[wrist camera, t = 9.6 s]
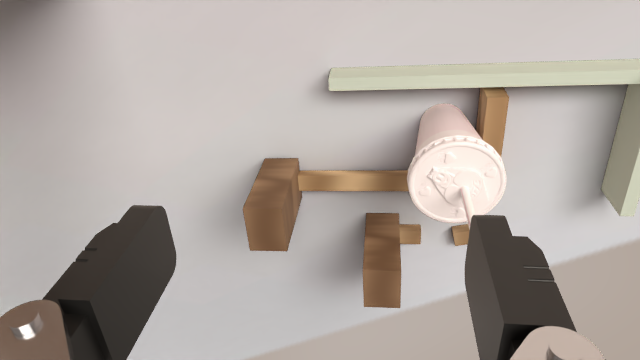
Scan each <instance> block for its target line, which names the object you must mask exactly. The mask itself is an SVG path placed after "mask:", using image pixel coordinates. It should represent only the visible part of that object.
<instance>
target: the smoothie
mask: <svg viewBox="0 0 640 360" xmlns="http://www.w3.org/2000/svg"><path fill="white" fill-rule="evenodd" d="M407 183H408V189H409V193H410V196H411V199H412V201H413V203H414V204H415V206H416V207H417V208H418V209H419V210H420V211H421V212H422V213H423V214H425V215H426V216H428V217H430V218H432V219H435V220H437V221H441V222H447V223H462V222H467V221H468V225H469V229H470V223H471V218H472V216H473V215H485V214H486V213H488V212H489V211H490V210H492V209H493V208H494V207H495V206H496V205H497V203H498V202H499V201H500V199H501V197H502V196H503V193H504V191H505V187H506V172H505V169H504V164H503V162H502V159H501V157H500V155H499V154H498V153H497V151H496V150H495V149H494V148H493V147H492V146H491V145H489V144H488V143H486V142H485V141H483V140H482V138H481V137H480V136H479V134H478V133H477V132H476V130H475V129H474V127H473V126H472V125H471V123H470V122H469V121H468V119H467V118H466V116H465V115H464V114H463V112H462V111H461V110H460V109H459V108H458V107H456V106H454V105H451V104H445V103H443V104H437V105H434V106H432V107H430V108H429V109H428V110H427V111H426V112H425V113H424V114H423V116H422V118H421V121H420V126H419V133H418V139H417V145H416V152H415V157H414V158H413V160H412V162H411V164H410V166H409V168H408V175H407Z"/></svg>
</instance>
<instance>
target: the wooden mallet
mask: <svg viewBox="0 0 640 360" xmlns="http://www.w3.org/2000/svg"><path fill="white" fill-rule="evenodd" d="M508 102H509V96H508V95H507V93H506V91H505V89H504V88H503V87H480V96H479V106H478V116H477V125H476V132H477V133H478V134H479V136H480V137H481V138H482V140H483V141H485V142H486V143H488V144H489V145H491V146H492V147H493V148H494V149H495V150H496V151H497V153H498V154H499V155H500V157H501V154H502V146H503V139H504V131H505V124H506V116H507V109H508ZM407 175H408V170H401V171H299V161H298V158H272V159H265V160H264V162H263V164H262V167H261V169H260V171H259V173H258V176H257V178H256V180H255V182H254V185H253V187H252V189H251V191H250V193H249V196H248V198H247V200H246V202H245V205H244V207H243V213H244V219H245V224H246V230H247V236H248V241H249V247H250V250H255V251H287V250H288V246H289V243H290V239H291V235H292V232H293V228H294V224H295V221H296V217H297V213H298V210H299V206H300V202H301V199H302V191H409V189H408V183H407Z"/></svg>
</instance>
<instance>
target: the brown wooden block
mask: <svg viewBox="0 0 640 360" xmlns="http://www.w3.org/2000/svg"><path fill="white" fill-rule="evenodd" d="M452 231H453V237H454V242H455V246H458V245H465V244H468V238H469V231H470V229H469V225H468V224H466V225H459V226H453V227H452ZM420 242H421V226H420V225H404V224H399V213H366V228H365V244H364V260H363V291H364V307H387V308H400V295H401V257H400V244H420Z"/></svg>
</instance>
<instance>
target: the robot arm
mask: <svg viewBox="0 0 640 360" xmlns="http://www.w3.org/2000/svg"><path fill="white" fill-rule="evenodd" d="M175 266H176V250H175V246H174V242H173V238H172V234H171V230H170V226H169V222H168V218H167V214H166V211H165V209H164V208H163V207H162V206H143V205H134V206H132V207H130V208H129V210H128V211H127V212H126V213H125V215H124V216H123V217H122V218H121V220H120V221H119V222H118V223H113V224H111V225H110V226H108V227H107V228H105V229H104V230H102V231H101V232H99V233H98V234H96V235H95V237H94V238H93V239H92V240H91V241H90V243H89V244H88V245H87V246H86V247H85V251H82V252H81V253H80V255H79V256H78V257H77V258H76V262H73V263H72V264H71V265H70V267H69V268H68V269H67V270H66V271H65V273H64V274H63V275H62V276H61V277H60V279H59V280H58V281H57V282H56V284H55V285H54V286H53V287H52V288H51V290H50V291H49V292H48V293H47V294H46V296H45V297H44V298H43V299H42V300H35V301H30V302H27V303H24V304H21V305H19V306H17V307H15V308H13V309H11V310H10V311H8V312H6V313H5V314H4V315H3V316H1V317H0V360H126V359H127V357H128V356H129V354H130V352H131V350H132V348H133V346H134V345H135V343H136V341H137V339H138V337H139V335H140V334H141V332H142V330H143V328H144V326H145V324H146V323H147V321H148V319H149V317H150V315H151V314H152V312H153V310H154V308H155V306H156V304H157V303H158V301H159V299H160V297H161V295H162V293H163V292H164V290H165V288H166V286H167V284H168V282H169V281H170V279H171V277H172V275H173V273H174V270H175ZM465 286H466V291H467V297H468V301H469V307H470V312H471V317H472V321H473V327H474V332H475V337H476V342H477V347H478V352H479V357H480V360H605V359H604V357H603V355H602V353H601V352H600V350H599V349H598V348H597V347H596V345H594V344H593V343H592V342H591V341H590V340H589V339H587V338H586V337H584V336H582V335H581V334H579V333H577V331H576V329H575V327H574V324H573V322H572V320H571V317H570V315H569V313H568V310H567V308H566V306H565V303H564V301H563V299H562V296H561V294H560V292H559V289H558V287H557V284H556V283H554V278H553V275H552V273H551V270H549V266H548V263H547V261H546V259H545V256H544V254H543V252H542V250H541V249H540V248H539V247H538V246H537V245H535V244H534V243H533V242H532V241H531V240H530V239H529V238H528V237H520V236H512V234H511V231H510V228H509V225H508V223H507V220H506V217H505V216H498V215H473V216H472V218H471V223H470V231H469V238H468V246H467V253H466V261H465Z"/></svg>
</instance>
